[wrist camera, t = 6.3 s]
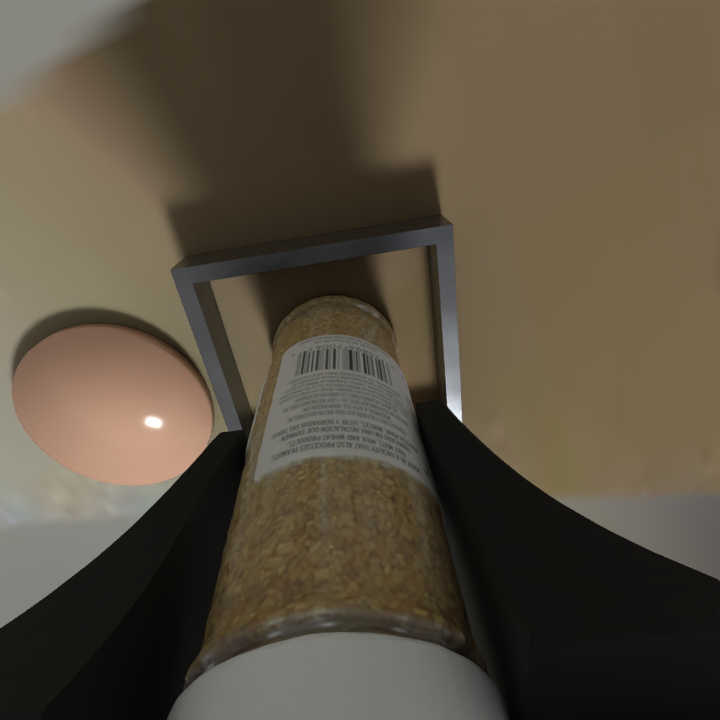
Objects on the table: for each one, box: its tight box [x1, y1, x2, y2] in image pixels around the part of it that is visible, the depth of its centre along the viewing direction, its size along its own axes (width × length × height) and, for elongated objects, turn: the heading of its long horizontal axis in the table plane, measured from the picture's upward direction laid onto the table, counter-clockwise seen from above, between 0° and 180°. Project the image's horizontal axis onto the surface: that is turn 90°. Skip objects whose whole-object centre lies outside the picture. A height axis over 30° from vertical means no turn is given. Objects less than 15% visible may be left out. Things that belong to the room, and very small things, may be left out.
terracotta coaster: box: [12, 323, 214, 485], centre depth 17 cm, size 7×7×1 cm
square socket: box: [171, 215, 462, 441], centre depth 16 cm, size 8×8×2 cm
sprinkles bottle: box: [167, 295, 510, 720], centre depth 10 cm, size 5×5×14 cm
